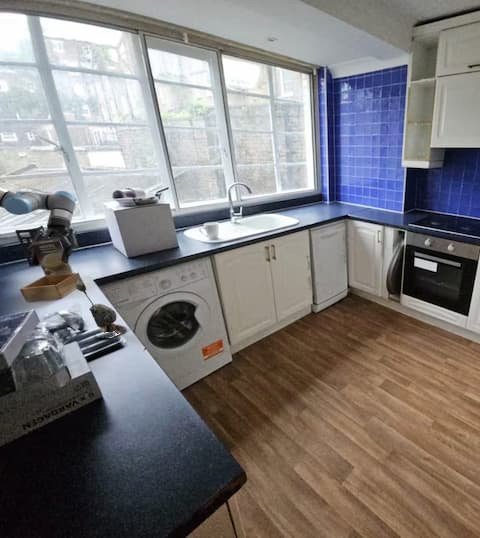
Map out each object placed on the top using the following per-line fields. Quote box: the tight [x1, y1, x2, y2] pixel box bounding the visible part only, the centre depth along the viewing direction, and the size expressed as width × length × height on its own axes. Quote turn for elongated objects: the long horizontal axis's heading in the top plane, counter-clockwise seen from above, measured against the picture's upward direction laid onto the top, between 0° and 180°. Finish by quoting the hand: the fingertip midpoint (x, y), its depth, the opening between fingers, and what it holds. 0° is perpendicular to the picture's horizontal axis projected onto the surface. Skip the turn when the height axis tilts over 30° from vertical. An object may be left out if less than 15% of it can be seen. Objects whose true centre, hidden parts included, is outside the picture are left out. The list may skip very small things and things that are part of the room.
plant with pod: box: [76, 278, 128, 335], centre depth 92 cm, size 8×11×20 cm
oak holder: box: [19, 272, 82, 303], centre depth 125 cm, size 13×14×6 cm
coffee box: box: [31, 239, 74, 276], centre depth 133 cm, size 9×6×16 cm
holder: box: [15, 224, 45, 267], centre depth 157 cm, size 11×8×20 cm
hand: (49, 263), depth 131 cm, fingers closed on coffee box, 11 cm apart
